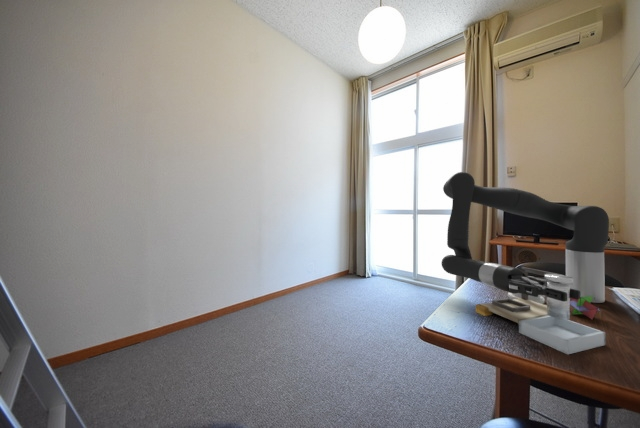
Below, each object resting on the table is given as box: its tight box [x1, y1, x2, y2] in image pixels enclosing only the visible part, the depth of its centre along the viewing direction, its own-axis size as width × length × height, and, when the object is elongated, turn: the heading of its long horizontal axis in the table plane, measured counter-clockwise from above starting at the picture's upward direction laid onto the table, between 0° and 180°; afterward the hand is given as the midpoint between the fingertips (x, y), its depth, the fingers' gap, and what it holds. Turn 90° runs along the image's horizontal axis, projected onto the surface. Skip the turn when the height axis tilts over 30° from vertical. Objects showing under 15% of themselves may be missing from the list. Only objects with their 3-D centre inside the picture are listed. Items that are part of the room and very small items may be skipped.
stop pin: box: [544, 273, 573, 320], centre depth 58 cm, size 5×5×10 cm
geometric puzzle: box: [570, 294, 602, 320], centre depth 70 cm, size 7×7×8 cm
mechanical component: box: [507, 292, 546, 305], centre depth 84 cm, size 10×4×10 cm
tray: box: [518, 316, 606, 355], centre depth 58 cm, size 13×10×3 cm
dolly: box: [475, 266, 563, 325], centre depth 71 cm, size 20×12×13 cm, turn 105°
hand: (572, 296), depth 56 cm, fingers closed on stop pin, 4 cm apart
